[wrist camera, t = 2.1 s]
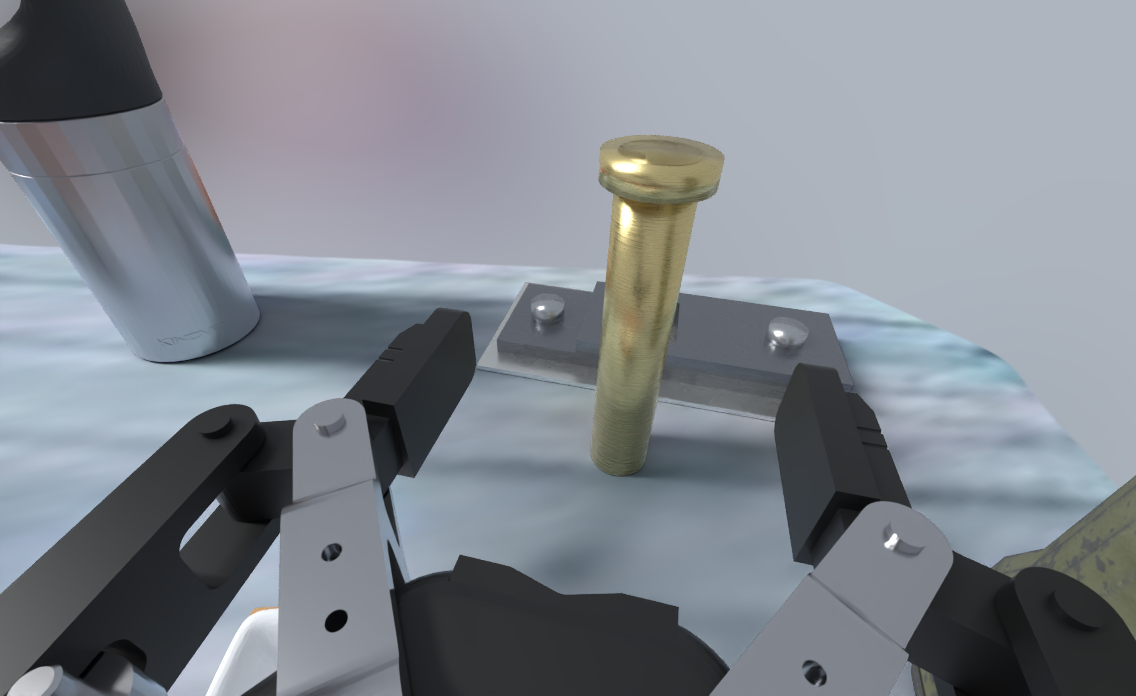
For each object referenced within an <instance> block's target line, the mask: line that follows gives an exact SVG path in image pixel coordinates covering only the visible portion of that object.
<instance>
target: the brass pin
mask: <svg viewBox="0 0 1136 696" xmlns="http://www.w3.org/2000/svg"><path fill="white" fill-rule="evenodd" d="M723 164H724V155H723V154H722V153H721V152H720V151H719V150H717V149H716V148H714V147H712V146H710V145H707V144H704V143H701V142H698V141H693V140H689V139H684V138H679V137H671V136H660V135H659V136H658V135H636V136H626V137H620V138H615V139H612V140H610V141H607V142H605V143H604V144H602V146H601V147H600V159H599V174H598V175H599V176H598V181H599V183H600V185H601V186H602V187H604V188H605V189H606V190H608V191H609V192H611V193H613V204H612V215H611V228H610V238H609V250H608V260H607V272H606V283H605V294H604V305H603V317H602V328H601V339H600V350H599V362H598V373H597V384H596V395H595V407H594V418H593V429H592V440H591V458H592V460H593V462H594V464H595V465H596V466H597V467H598V468H599V469H600V470H602V471H604V472H605V473H608V474H610V475H614V476H627V475H631V474H634V473H636V472H637V471H639V470H640V469H641V468H642V466H643V465H644V462H645V459H646V454H647V449H648V444H649V439H650V434H651V429H652V424H653V419H654V414H655V409H656V404H657V399H658V395H659V390H660V385H661V380H662V375H663V370H664V365H665V360H666V355H667V350H668V345H669V340H670V335H671V330H672V325H673V320H674V315H675V311H676V306H677V301H678V296H679V291H680V286H681V281H682V276H683V271H684V266H685V261H686V256H687V251H688V246H689V241H690V236H691V231H692V227H693V221H694V217H695V212H696V207H697V202H698V201H703V200H705V199H708V198H710V197H712V196H713V195H715V193H716V192H717V190H718V186H719V182H720V177H721V173H722V168H723Z"/></svg>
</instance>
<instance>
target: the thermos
mask: <svg viewBox="0 0 1136 696" xmlns="http://www.w3.org/2000/svg"><path fill="white" fill-rule="evenodd" d="M1028 567H1044V568H1049V569H1052V570H1056V571H1059V572H1061V573H1064V574H1066V575H1068V576H1070V577H1072V578H1074V579H1076V580H1078V581H1080V582H1081V583H1083V584H1084V585H1086V586H1088V587H1089V588H1090V589H1092V590H1093V591H1095V592H1096V593H1097V594H1098V595H1100V596H1101V597H1102V598H1103V599H1104V600H1106V601H1107V602H1108V603H1109V604H1110V605H1111V606H1112V607H1113V608H1114V609H1115V611H1116V612H1117V613H1118V614H1119V615H1120V616H1121V618H1122V619H1123V621H1124V622H1125V624H1126V625H1127V627H1128V628H1129V630H1130V632H1131V633H1132V635H1133V637H1134V638H1135V640H1136V476H1135V477H1133V478H1132V479H1131V480H1130V481H1128V482H1127V483H1126V484H1124V485H1123V486H1122V487H1121V488H1119V489H1118V490H1117V491H1116V492H1115V493H1113V494H1112V495H1111V496H1110V497H1108V498H1107V499H1106V500H1105V501H1103V502H1102V503H1101V504H1100V505H1098V506H1097V507H1096V508H1095V509H1093V510H1092V511H1091V512H1090V513H1088V514H1087V515H1086V516H1085V517H1083V518H1082V519H1081V520H1080V521H1078V522H1077V523H1076V524H1075V525H1073V526H1072V527H1071V528H1070V529H1068V530H1067V531H1066V532H1065V533H1063V534H1062V535H1061V536H1060V537H1058V538H1057V539H1056V540H1055V541H1053V542H1052V543H1051V544H1050V545H1048V546H1047V547H1046V548H1045V549H1040V550H1035V551H1030V552H1026V553H1021V554H1016V555H1011V556H1007V557H1004V558H1003V559H1002V560H1000V561H999V562H998V563H997V564H996V565H994V566H993V567H992V568H991V569H993V570H996V571H998V572H1000V573H1002V574H1005V575H1007V576H1009V577H1011V578H1012V577H1014V576H1015V575H1016V574H1017V573H1018V572H1020V571H1021V570H1022V569H1025V568H1028ZM911 674H912V679H913V684H914V689H915V695H916V696H938V694H937V690H936V686H935V683H934V679H933V675H932V674H931V673H929V672H927V671H925V670H923V669H922V668H920V667H918V666H916V665H914V664H912V668H911Z"/></svg>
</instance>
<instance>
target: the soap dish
mask: <svg viewBox="0 0 1136 696" xmlns="http://www.w3.org/2000/svg"><path fill="white" fill-rule="evenodd" d="M278 609H279V607H263V608H255V609H254V610H253V611H252V613H251V615H250V616H249V617H248V618H247V619H246V620H245V621H244V622H243V624H242V625H241V627H240V628H239V630H238V631H237V633H236V635H235V637H234V638H233V640H232V642H231V644H230V646H229V648H228V650H227V652H226V654H225V656H224V658H223V661H222V663H221V665H220V667H219V669H218V671H217V673H216V675H215V677H214V679H213V682H212V684H211V686H210V688H209V690H208V692H207V694H206V696H240V695H242V694H243V693H245V692H246V691H248V690H249V689H251V688H252V687H253V686H255V685H256V684H258V683H259V682H261V681H262V680H263V679H265V678H266V677H268V676H269V675H271V674H272V673H274V672H275V671H276V670H277V652H278Z"/></svg>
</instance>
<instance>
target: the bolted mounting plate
mask: <svg viewBox="0 0 1136 696" xmlns="http://www.w3.org/2000/svg"><path fill="white" fill-rule="evenodd" d="M604 294H605V282H598V281H597V283H596V286H595V289H594V292H591V291H584V290H577V289H570V288H563V287H556V286H549V285H542V284H535V283H528V282H525V284H524V285H523V287H522V289H521V290H520V292H519V294H518V295H517V297H516V299H515V301H514V302H513V304H512V306H511V307H510V309H509V311H508V312H507V314H506V316H505V318H504V319H503V321H502V323H501V324H500V326H499V328H498V329H497V331H496V333H495V335H494V336H493V338H492V340H491V341H490V343H489V345H488V347H487V348H486V350H485V352H484V353H483V355H482V357H481V358H480V360H479V362H478V364H477V369H481V370H486V371H492V372H497V373H503V374H509V375H514V376H520V377H526V378H531V379H537V380H543V381H548V382H554V383H560V384H565V385H571V386H577V387H582V388H588V389H594V390H596V384H597V373H598V362H599V350H600V339H601V328H602V317H603V305H604ZM798 363H806V364H812V365H819V366H826V367H832V368H835V369H836V370H837V371H838V374H839V377H840V380H841V383H842V385H843V388H844V391H845V392H849V393H850V392H851V390H852V388H853V386H854V384H853V381H852V378H851V375H850V372H849V370H848V367H847V364H846V361H845V358H844V356H843V353H842V350H841V347H840V345H839V342H838V339H837V336H836V333H835V331H834V328H833V325H832V322H831V319H830V317H829V314H826V313H819V312H812V311H805V310H798V309H791V308H783V307H776V306H769V305H762V304H755V303H748V302H741V301H734V300H726V299H719V298H712V297H705V296H698V295H691V294H684V293H679V296H678V301H677V306H676V311H675V315H674V320H673V325H672V330H671V335H670V340H669V345H668V350H667V355H666V360H665V365H664V370H663V375H662V380H661V385H660V390H659V395H658V399H657V401H661V402H667V403H673V404H678V405H684V406H690V407H695V408H701V409H707V410H712V411H718V412H724V413H729V414H735V415H741V416H746V417H752V418H758V419H763V420H769V421H775V419H776V414H777V411H778V408H779V406H780V403H781V401H782V398H783V396H784V393H785V391H786V389H787V386H788V384H789V381H790V379H791V376H792V374H793V371H794V369H795V367H796V366H797V364H798Z"/></svg>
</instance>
